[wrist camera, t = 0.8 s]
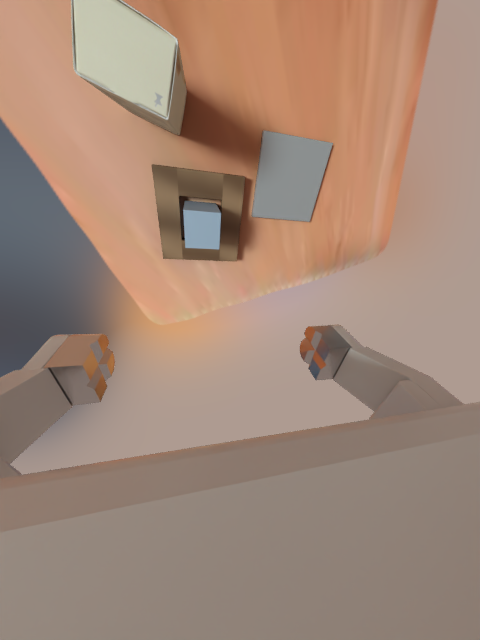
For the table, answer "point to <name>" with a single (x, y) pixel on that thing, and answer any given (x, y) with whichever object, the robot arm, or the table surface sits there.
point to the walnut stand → (203, 186)
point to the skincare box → (129, 60)
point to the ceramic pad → (289, 176)
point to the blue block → (201, 225)
